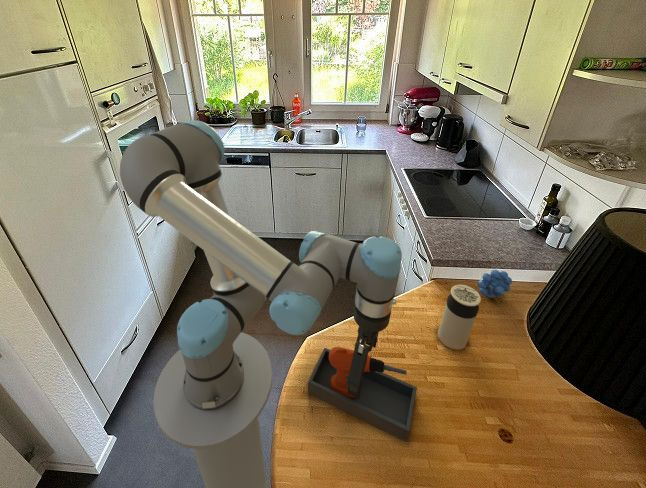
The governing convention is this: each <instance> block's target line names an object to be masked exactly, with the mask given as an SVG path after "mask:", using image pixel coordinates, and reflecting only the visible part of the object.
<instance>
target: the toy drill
mask: <svg viewBox="0 0 646 488" xmlns="http://www.w3.org/2000/svg"><path fill="white" fill-rule="evenodd" d="M330 350H331V351H330V353H329V361H330V363H331V365H332V366H333V367H334V368H336V369H337V373H336V374H334V375H333V376H332V377H331V380H330V387H331V389H332V390H333V391H335V392H337V393H339V394H341V395H343V396H345V397H347V398H349V399H354V398H356V397H354V396H352V395H350V394H348V393H347V392H348V386H346V382H347V380H348V379H347V378H345V377H346V375H347V374H348V375H349V371H350V367H351V363H352V358H353V354H354V349H350V348H346V347H338V346H334V347H332V348H331V349H330ZM370 371H374V372H375V371H376V372H380V373H381V372H383V373H385V371H387V372H392V373H396V374H401V375H407V373H408V372H407V370H406V369H402V368H399V367H394V366H391V365H389V364H385V362H384V361H383V360H381V359H377V358H374V357H372V356H371V355H369V354H368V357H367V361H366V365H365V368H364V372H370Z"/></svg>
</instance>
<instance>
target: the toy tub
mask: <svg viewBox="0 0 646 488" xmlns="http://www.w3.org/2000/svg"><path fill="white" fill-rule="evenodd" d="M330 351H331V349H329V348H327V347H324V348H323V350H322V352H321V354H320V355H319V358H318V360H317V362H316V364H315V367H314V369H313V370H312V373H311V375H310V377H309V379H308V381H307V393H308V394H309V395H312V396H314V397H316V398H317V399H320V400H322V401H324V402H326V403H328V404H330V405H331V406H334V407H335V408H337V409H340V410H342V411H344V412H345V413H348V414H350V415H352V416H354V417H355V418H357V419H360V420H361V421H363V422H365V423H367V424H370V425H372V426H374V427H375V428H378V429H380V430H381V431H383V432H385V433H388V434H390V435H391V436H394V437H396V438H397V439H400V440H402V441H404V442H407V441H408V437H409V434H410V430H411V424H412V420H413V419H412V418H413V413H414V407H415V401H416V396H417V390H418V387H417V386H415V385H414V384H411V383H408V382H407V381H404V380H401V379H399V378H396V377H394V376H393V375H390V374H387V373H385V372H381V373H380V372H376V371H375V372H374V371H370V372H363V376H362V378H363V381H362V387H361V393H360V398H359V399H358V398H354V399H349V398H347V397H345V396H343V395H341V394H339V393H337V392H335V391H333V390H332V389H331V387H330V380H331V377H332V376H333V375H334V374H336V373H337V369H336V368H334V367H333V366H332V365H331V363H330V361H329V353H330Z"/></svg>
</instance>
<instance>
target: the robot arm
mask: <svg viewBox="0 0 646 488" xmlns="http://www.w3.org/2000/svg"><path fill="white" fill-rule="evenodd" d="M225 151H226V150H225V145H224V142H223V139H222V137H221V135H220V134H219V133H218V132H217V131H216V129H214V127H212V126H210V125H208V123H206V122H204V121H201V120H197V119H196V120H195V119H194V120H192V119H191V120H188V121H184V122H178V123H176V124H174V125H173V124H172V125H170V126H168V127H166V128H163V129H161V130H157V131H155V132H152V133H150V134H146V135H143V136H140V137H139V138H138V137H137V138H136V139H135V140H133V141H132V142H131V143H130V144H129V145H128V146H127V147H126V148H125V150H124V152H123V154H122V155H121V159H120V163H119V177H120V181H121V184H122V187H123V189H124V190H123V191H125V193H126V195H127V197H128V198H129V199H130V201H131V202H132V203H133V204H134V205H135V206H136V207H137V208H138V209H139V210H141V212H143V213H144V214H145V215H147V216H149V217H152V218H156V217H160V218H161V220H164V222H166V223H167V224H169V225H170V226H171V227H173V228H174V229H175V230H176V231H178V232H179V233H181V235H183V236H184V237H185V238H187V239H188V240H189V241H191V242H192V243H193V244H195V245H196V246H197V247H199V248H200V249H202V250H203V252H204V255H205V257H206V259H207V260H206V261H207V262H208V263H207V264H208V265H209V267H210V270H211V272H212V277H211V278H210V283H209V284H210V287H211V290H212V292H213V294H212V296H211V297H210V298H206V299H202V300H201V301H200V302H199V301H196V302H194V303H193V304H192V305H190V306H189V307H188V308H186V309H185V311H184V312H183V313H182V314H181V316H180V318H179V320H178V323H177V326H176V336H177V346H178V348H179V350H181V352H182V356H183V359H184V363H185V366H186V371H185V376H184V381H183V388H184V392H185V396H186V398H187V400H188V402H189V403H190V404H191V405H192V406H194V407H195V408H197V409H200V410H215V409H218V408H221V407H223V406H225V405H226V404H228V403H229V402H230V401H231V400H233V399H234V398H235V396H236V395H237V394H238V392H239V391H240V389H241V387H242V384H243V381H244V367H243V363H242V360H241V359H240V357H239V356H238V355H237V353H236V352H235V351H234V350H233V343H234V341H235V340H236V338H237V337H238V336H239V334H240V333H241V332H242V333H243V331H244V330H245V328H246V327H247V326H248V324H249V323H250V322H251V321H252V319H253V318H254V317H255V316H256V315H257V313H258V312H259V311H260V309H261V308H262V307H263V305H264V303H265V301H266V300H268V301H270V302H271V303H270V305H269V316H270V319H271V320H272V321H273V322H275V325H276V327H277V328H278V329H279V330H281V331H283V332H285V333H287V334H288V335H292V336H301V335H305V334H306V333H307V332H309V331H310V330H311V329H312V327H313V325H314V323H315V322H316V320H317V318H319V317H320V315H321V314H322V311H323V308H324V306H325V305H326V303H327V300H328V299H329V296H330V295H331V293H332V291H333V290H334V288H335V286H336V285H337V282H338V281H339V279H342V280H345V281H349V282H353V283H356V288H355V295H354V305H353V319H354V321H355V323H356V325H357V326H358V327H357V328H358V329H357V337H356V341H355V343H354V349H353V350H354V354H353V358H352V363H351V367H350V371H349V375H348V374H347V375H346V377H345V378H347V379H348V380H347V382H346V386H348V392H347V393H348V394H350V395H352V396H354V397H356V398H358V399H359V398H360V393H361V387H362V381H363V378H362V376H363V372H364V368H365V365H366V361H367V357H368V355H369V353H370V352H372V350H373V348H374V349H376V348H377V344H378V339H379V333H380V332H382V331H384V330H385V329H386V328H387V327H388V326H389V324H390V320H391V315H392V309H393V306H394V305H395V306H396V305H397V302H398V301H397V300H396V299H394V298H395V295H396V290H397V285H398V282H399V278H400V273H401V269H402V267H401V265H402V258H403V256H402V255H403V254H402V253H403V252H402V250H401V247H400V245H398V243H397V242H396V241H394V240H392V239H391V238H389V237H385V236H379V237H377V236H375V235H374V236H369V237H367V238H366V239H365V240H364V241H363V242H362V243H358V242H355V241H352V240H349V239H345V238H344V237H343V238H342V237H339V236H335V235H333V234H331V233H327V232H325V233H324V232H320V231H317V230H311V231H309V232H307V233H306V235H305V236H303V237H304V238H303V241H302V242H301V243H300V247H299V251H298V259H299V262H300V263H299V265H297V264H296V263H294V262H293V261H291V260H290V259H289V258H287V257H286V256H285V255H283V254H282V253H280V252H279V251H278V250H276V249H275V248H273V247H272V246H271V245H269V244H268V243H267V242H266V241H264V240H263V239H262V238H260V237H259V236H257V235H256V234H254V233H253V232H252V231H251V230H249V229H248V228H247V227H245V226H244V225H242V224H241V223H239V222H238V221H237V220H236V219H234V218H233V217H231V215H230V214H229V211H228V208H227V205H226V202H225V199H224V195H223V193H222V191H221V188H220V184H219V181H220V180H221V178H222V177H223V173H222V169H221V167H220V163H221V162H222V161H223V159H224V156H225V153H226V152H225Z"/></svg>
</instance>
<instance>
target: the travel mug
mask: <svg viewBox="0 0 646 488" xmlns="http://www.w3.org/2000/svg"><path fill="white" fill-rule="evenodd" d="M479 293H480V292H478V291H477V290H476V289H474V288H473V287H471V286H468V285H466V284H456V285H453V286H452V287H451V289H450V293H449V295H447V299H446V302H445V305H444V309H443V312H442V315H441V319H440V323H439V327H438V330H437V337H438V339H439V341H440V342H441V343H442V344H443V346H445V347H447V348H449V349H452V350H456V351H457V350H462V349H464V348H466V346H467V343H468V341H469V338H470V335H471V333H472V329H473V327H474V324H475V322H476V318H477V316H478V314H479V310H480V306H479V305H480V303H481V301H482V298H481V297H482V296H481V295H480V294H479Z"/></svg>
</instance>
